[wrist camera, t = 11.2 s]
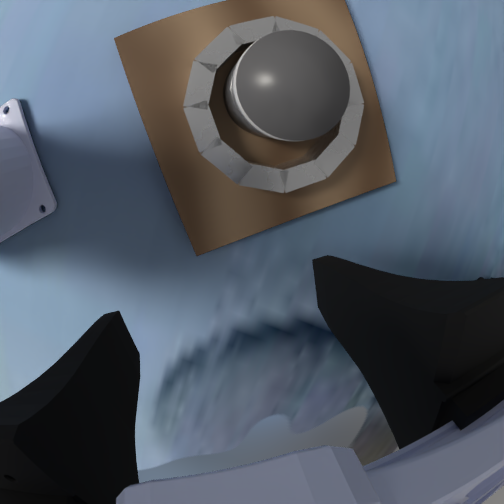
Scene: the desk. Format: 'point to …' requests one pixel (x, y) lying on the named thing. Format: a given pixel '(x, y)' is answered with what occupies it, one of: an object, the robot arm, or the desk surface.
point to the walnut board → (243, 143)
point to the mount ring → (225, 158)
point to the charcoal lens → (287, 87)
